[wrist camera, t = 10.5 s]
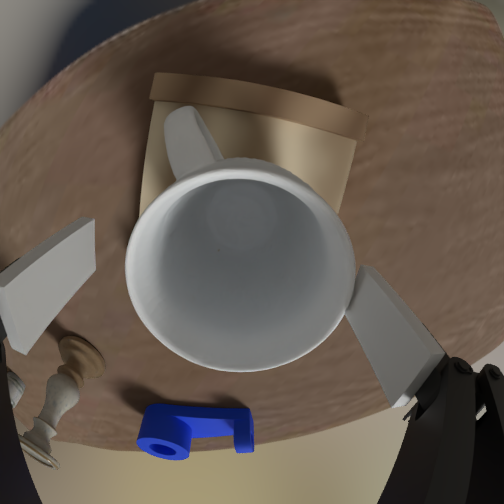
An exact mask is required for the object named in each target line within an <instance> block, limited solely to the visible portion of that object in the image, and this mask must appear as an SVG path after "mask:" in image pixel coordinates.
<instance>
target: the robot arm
mask: <svg viewBox="0 0 504 504" xmlns="http://www.w3.org/2000/svg"><path fill="white" fill-rule="evenodd" d="M95 270H96V263H95V219H93V218H86V217H81V218H79V219H77V220H76V221H74V222H73V223H71V224H69V225H68V226H66V227H65V228H63V229H61V230H60V231H58V232H57V233H55V234H54V235H52V236H51V237H49V238H48V239H46V240H45V241H43V242H42V243H40V244H39V245H38V246H36V247H35V248H33V249H32V250H31V251H29V252H28V253H26V254H25V255H24V256H22V257H21V258H18V259H16V260H15V261H14V262H12V263H11V264H10V266H7V267H6V268H5V269H4V270H3V271H1V272H0V504H42V502H41V500H40V498H39V496H38V493H37V490H36V488H35V485H34V483H33V480H32V478H31V475H30V473H29V469H28V467H27V464H26V461H25V458H24V454H23V451H22V448H21V444H20V440H19V437H18V433H17V429H16V425H15V420H14V415H13V410H12V405H11V399H10V392H9V385H8V377H7V367H6V354H5V347H4V344H3V340H4V339H5V337H6V336H7V337H8V340H9V342H10V345H11V347H12V349H14V350H16V351H18V352H20V353H22V354H25V355H27V353H28V352H29V350H30V349H31V348H32V346H33V345H34V344H35V342H36V341H37V340H38V338H39V337H40V336H41V334H42V333H43V332H44V330H45V329H46V328H47V326H48V325H49V324H50V323H51V321H52V320H53V319H54V318H55V316H56V315H57V314H58V313H59V312H60V310H61V309H62V308H63V307H64V306H65V304H66V303H67V302H68V301H69V300H70V298H71V297H72V296H73V295H74V294H75V293H76V292H77V290H78V289H79V288H80V287H81V286H82V285H83V284H84V282H85V281H86V280H87V279H88V278H89V277H90V276H91V275H92V274H93V273H94V272H95ZM345 316H346V317H347V319H348V321H349V323H350V325H351V327H352V329H353V331H354V333H355V334H356V336H357V338H358V340H359V342H360V344H361V346H362V348H363V350H364V352H365V354H366V356H367V358H368V360H369V362H370V364H371V366H372V368H373V370H374V372H375V374H376V376H377V378H378V380H379V382H380V384H381V386H382V389H383V391H384V393H385V395H386V397H387V399H388V401H389V403H390V406H391V408H394V407H400V406H406V405H407V404H408V402H409V401H410V400H411V399H412V398H413V397H414V395H415V396H416V398H417V400H418V402H417V403H416V404H415V405H414V406H413V407H412V408H411V410H410V411H409V412H408V413H407V414H406V415H405V416H404V418H403V420H404V421H405V420H406V418H407V417H409V416H410V420H409V421H408V422H409V423H408V427H407V430H406V433H405V436H404V440H403V442H402V445H401V448H400V451H399V454H398V456H397V459H396V462H395V464H394V467H393V469H392V472H391V474H390V476H389V479H388V481H387V484H386V486H385V488H384V490H383V492H382V494H381V496H380V499H379V501H378V503H377V504H504V376H503V374H502V372H501V371H500V369H499V368H498V367H497V366H495V365H492V364H486V365H485V366H484V367H483V369H482V370H481V371H480V373H476V372H473V369H472V368H471V366H470V365H469V364H468V363H467V362H466V361H464V360H463V359H461V358H458V357H452V358H450V357H449V356H448V355H447V353H446V352H445V351H444V350H443V348H442V347H441V346H440V344H439V343H438V342H437V340H436V339H434V337H433V335H432V334H431V333H429V330H428V329H427V328H426V327H425V325H424V324H423V323H422V322H421V321H420V320H419V319H418V318H417V316H416V315H415V314H414V313H413V312H412V310H411V309H410V308H409V307H408V306H407V305H406V303H405V302H404V301H403V300H402V299H401V297H400V296H399V295H398V294H397V293H396V292H395V291H394V289H393V288H392V287H391V286H390V285H389V284H388V283H387V282H386V280H385V279H384V278H383V277H382V276H381V275H380V274H379V273H378V272H377V270H376V269H375V268H374V267H371V266H366V265H361V266H360V268H359V271H358V274H357V276H356V279H355V284H354V290H353V294H352V297H351V300H350V303H349V306H348V308H347V310H346V312H345ZM484 406H486V410H487V411H486V412H485V413H484V415H483V416H482V417H481V418H480V419H479V420H476V415H477V414H478V413H479V412H480V411H481V410H482V409H483V408H484Z"/></svg>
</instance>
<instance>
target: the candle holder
mask: <svg viewBox="0 0 504 504" xmlns="http://www.w3.org/2000/svg"><path fill="white" fill-rule="evenodd" d="M59 352H60V354H61V358H62V360H63V362H64V365H61V366H59V367H58V369H57V371H58V374H54V375H52V376H51V377H50V378H49V379H48V382H47V386H46V400H45V404H44V406H43V409H42V411H41V413H40V415H39V416H38V417H33V421H34V427H33V429H32V430H31V431H27V432H25V433H24V435H23V436H21V435H20V434H18V437H19V440H20V444H21V448H22V451H23V452H24V453H26V454H27V455H29V456H30V457H32V458H33V459H34V460H36V461H38V462H39V463H41V464H43V465H45V466H47V467H49V468H51V469H54V470H58V469H59V467H60V464H59V463H58V462H57V461H56V460H55V459H54V458H53V457H52V456H51V455H50V453H51V451H52V450H51V447H50V445H49V444H50V443H49V442H50V438H51V437H53V436H55V435H57V431H56V430H55V428H56V426H57V423H58V422H59V420H60V418H61V416H62V415H63V414H64V413H65V412H66V411H67V410H69V409H71V408H72V407H73V406H75V405H76V404H77V402H78V401H79V398H80V392H79V388H82V387H83V386H84V381H83V378H87V379H90V378H99V377H101V376H102V375H103V374H104V372H105V362H104V359H103V358H102V356H101V354H100V353H99V352H98V351H97V350H96V349H95V348H94V347H93V346H92V345H91V344H89V343H88V342H86V341H85V340H83V339H81V338H78V337H75V336H66V337H64V338H63V339H62V340H61V341H60V343H59Z"/></svg>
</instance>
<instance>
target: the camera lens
mask: <svg viewBox="0 0 504 504" xmlns="http://www.w3.org/2000/svg"><path fill="white" fill-rule="evenodd" d="M7 377H8V385H9V392H10V399H11V405H12V408H14V407H15V406H16V404H17V403H18V401H19V399H20V398H21V396H22V394H23V392H24V389H25V385H24V383H23V381H22V380H21V379H20V378H19V377H18V376H17V375H16V374H14V373H13V372H8V373H7Z"/></svg>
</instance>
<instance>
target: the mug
mask: <svg viewBox="0 0 504 504" xmlns="http://www.w3.org/2000/svg"><path fill="white" fill-rule="evenodd" d="M164 136H165V143H166V149H167V154H168V158H169V162H170V165H171V168H172V171H173V174H174V176H175V178H176V182H175V183H173V184H172V185H170V186H168V188H167V189H165V190H164V191H163V192H162V193H161V194H160V195H158V196H157V197H156V198H155V199H154V200H153V201H152V202H151V203H150V204H149V205H148V207H147V208H146V209H145V210H144V212H143V213H142V214H141V216H140V217H139V219H138V221H137V223H136V225H135V226H134V229H133V231H132V234H131V236H130V239H129V243H128V246H127V251H126V259H125V275H126V283H127V287H128V292H129V296H130V298H131V301H132V303H133V306H134V308H135V310H136V312H137V314H138V316H139V317H140V319H141V320H142V322H143V323H144V324H145V326H146V327H147V328H148V329H149V331H150V332H151V333H152V334H153V335H154V336H155V337H156V338H157V339H158V340H159V341H160V342H162V343H163V344H164V345H165V346H166V347H168V348H169V349H170V350H172V351H173V352H175V353H176V354H178V355H180V356H181V357H183V358H185V359H187V360H189V361H191V362H193V363H196V364H199V365H201V366H205V367H208V368H212V369H216V370H222V371H231V372H253V371H260V370H266V369H271V368H274V367H278V366H281V365H284V364H286V363H289V362H291V361H294V360H296V359H298V358H300V357H301V356H303V355H305V354H307V353H308V352H310V351H311V350H313V349H314V348H316V347H317V346H318V345H319V344H320V343H322V342H323V341H324V340H325V339H326V338H327V337H328V336H329V335H330V334H331V333H332V332H333V331H334V329H335V328H336V327H337V325H338V324H339V322H340V321H341V319H342V318H343V316H344V314H345V312H346V310H347V308H348V306H349V303H350V300H351V297H352V294H353V290H354V284H355V257H354V252H353V247H352V244H351V241H350V238H349V235H348V233H347V231H346V229H345V227H344V225H343V223H342V221H341V220H340V218H339V217H338V215H337V214H336V212H335V211H334V210H333V209H332V208H331V207H330V206H329V204H328V203H327V202H326V201H325V200H324V199H323V198H322V197H321V196H319V195H318V194H317V193H316V192H315V191H314V190H313V189H312V188H311V187H310V186H309V184H307V183H305V182H303V180H302V179H300V178H298V177H297V176H296V175H294V174H292V173H291V172H290V171H287V170H286V169H284V168H281V167H280V166H278V165H275V164H273V163H271V162H266V161H264V160H258V159H255V158H253V159H250V158H246V157H243V158H239V157H236V158H227V159H224V158H223V156H222V154H221V152H220V150H219V148H218V146H217V144H216V142H215V140H214V139H213V137H212V135H211V134H210V132H209V130H208V128H207V127H206V125H205V123H204V121H203V119H202V118H201V116H200V114H199V113H198V111H197V110H196V109H195V108H194V107H193V106H184V107H181V108H179V109H176V110H175V111H173V112H171V113H170V114H169V115H168V116H167V118H166V119H165V122H164Z"/></svg>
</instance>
